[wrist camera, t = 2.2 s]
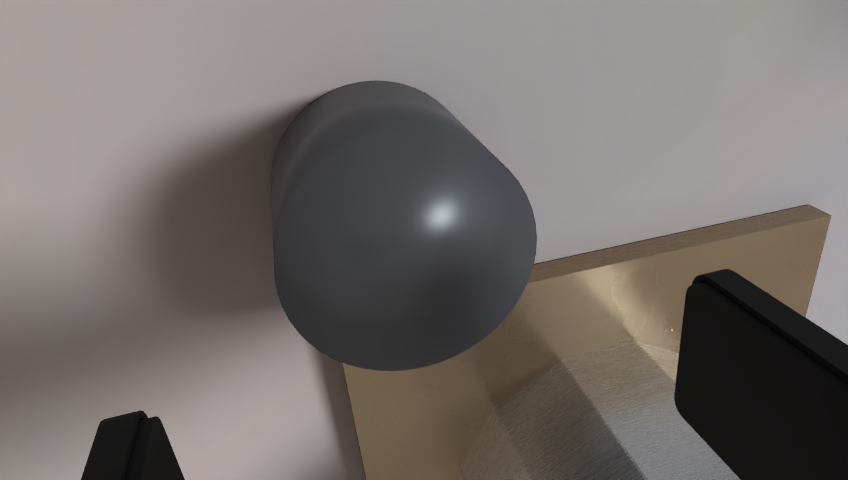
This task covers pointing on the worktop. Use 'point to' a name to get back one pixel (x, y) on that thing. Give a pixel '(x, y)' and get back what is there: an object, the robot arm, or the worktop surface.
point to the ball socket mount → (580, 366)
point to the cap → (395, 229)
